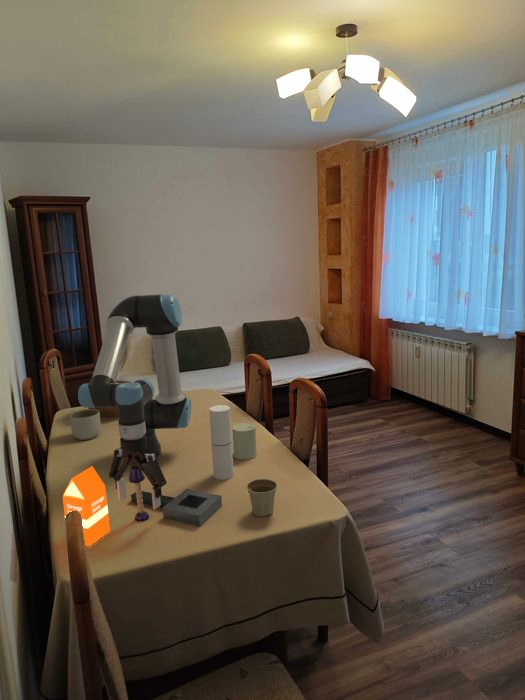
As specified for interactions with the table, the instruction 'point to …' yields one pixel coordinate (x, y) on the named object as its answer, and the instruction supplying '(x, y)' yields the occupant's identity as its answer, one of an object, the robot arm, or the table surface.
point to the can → (244, 441)
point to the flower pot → (262, 496)
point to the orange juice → (88, 504)
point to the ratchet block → (185, 506)
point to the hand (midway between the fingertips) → (139, 503)
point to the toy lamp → (138, 492)
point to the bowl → (109, 410)
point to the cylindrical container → (221, 442)
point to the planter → (85, 424)
